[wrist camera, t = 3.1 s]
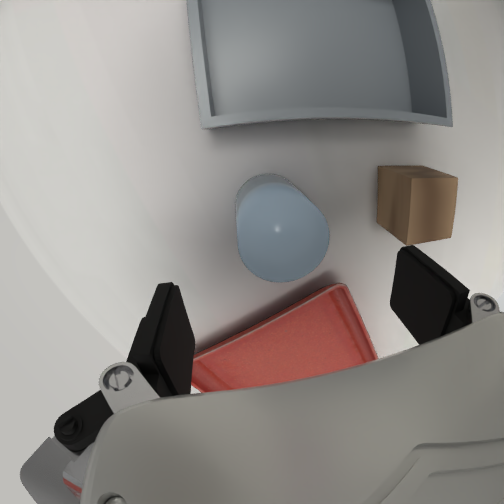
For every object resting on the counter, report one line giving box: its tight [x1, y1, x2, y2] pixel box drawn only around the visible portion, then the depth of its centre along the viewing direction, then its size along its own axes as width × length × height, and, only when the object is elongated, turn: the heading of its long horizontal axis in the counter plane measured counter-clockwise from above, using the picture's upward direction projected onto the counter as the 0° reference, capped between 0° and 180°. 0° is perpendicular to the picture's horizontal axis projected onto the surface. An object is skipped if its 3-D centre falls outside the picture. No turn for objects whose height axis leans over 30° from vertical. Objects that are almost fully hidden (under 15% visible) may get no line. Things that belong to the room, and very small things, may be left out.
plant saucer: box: [191, 283, 378, 393], centre depth 27 cm, size 18×18×3 cm
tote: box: [187, 0, 453, 129], centre depth 13 cm, size 17×13×5 cm
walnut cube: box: [377, 166, 458, 246], centre depth 19 cm, size 5×5×5 cm
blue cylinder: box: [235, 174, 329, 282], centre depth 18 cm, size 5×5×7 cm
